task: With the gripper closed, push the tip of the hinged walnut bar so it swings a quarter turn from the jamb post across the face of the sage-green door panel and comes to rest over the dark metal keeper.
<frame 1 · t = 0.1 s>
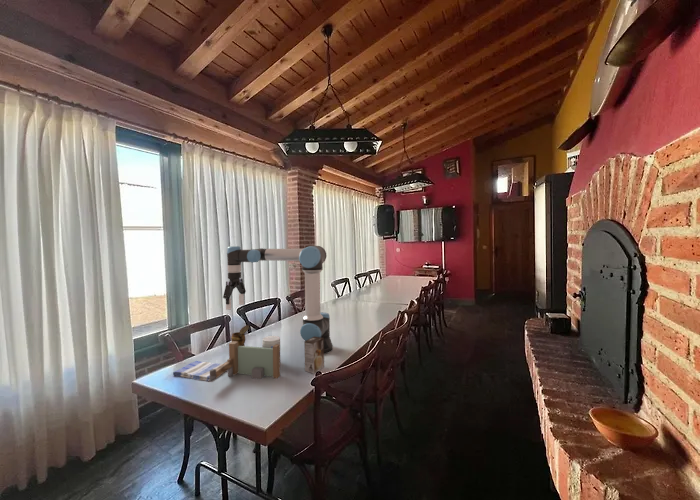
hand: (235, 306, 183), 28 cm above the table, fingers open, 13 cm apart
dish towel: (203, 372, 159), on the table
walnut bar: (221, 368, 146), point 7 cm above the table, hinge at 0.0°
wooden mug: (240, 352, 185), on the table
door set: (251, 375, 154), on the table
coffee box: (314, 369, 161), on the table
supplement tub: (271, 365, 167), on the table
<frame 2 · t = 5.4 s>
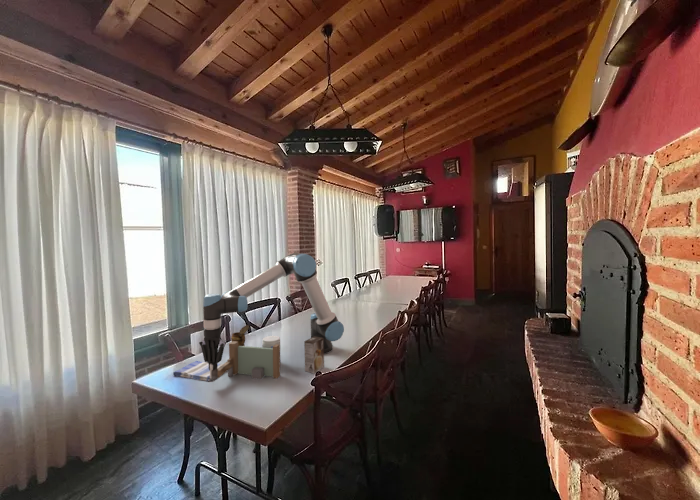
hand: (213, 376, 143), 4 cm above the table, fingers closed
walnut bar: (222, 368, 146), point 7 cm above the table, hinge at 3.5°, touching gripper
everything else where it was.
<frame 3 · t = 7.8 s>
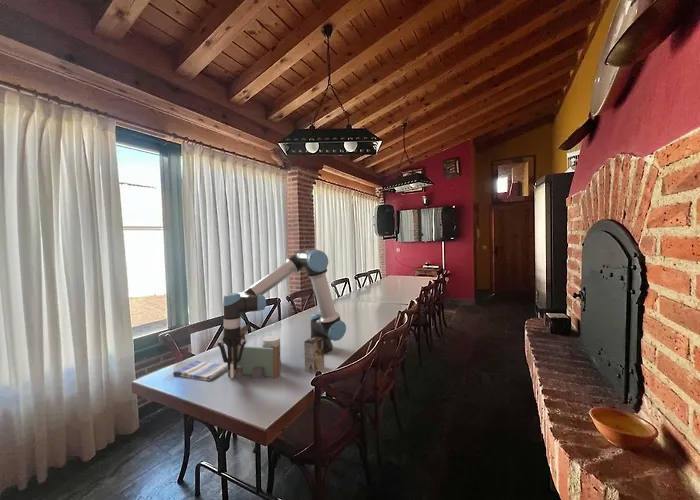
hand: (232, 376, 143), 5 cm above the table, fingers closed
walnut bar: (234, 366, 148), point 7 cm above the table, hinge at 51.2°, touching gripper
everything else where it was.
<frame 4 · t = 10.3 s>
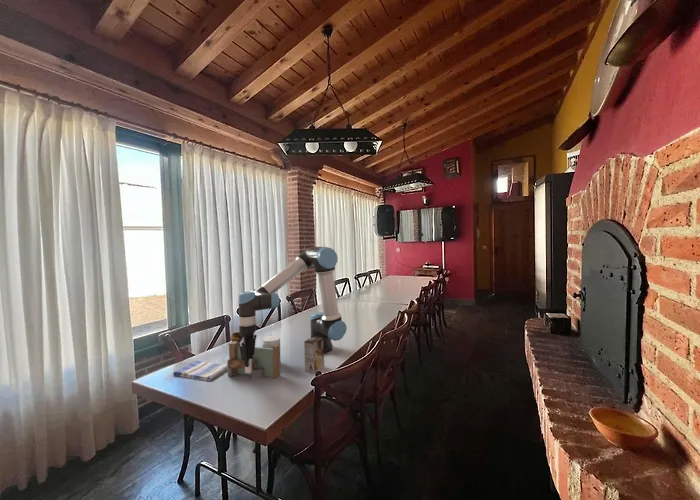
hand: (248, 372, 147), 5 cm above the table, fingers closed
walnut bar: (242, 363, 152), point 7 cm above the table, hinge at 92.2°
everything else where it was.
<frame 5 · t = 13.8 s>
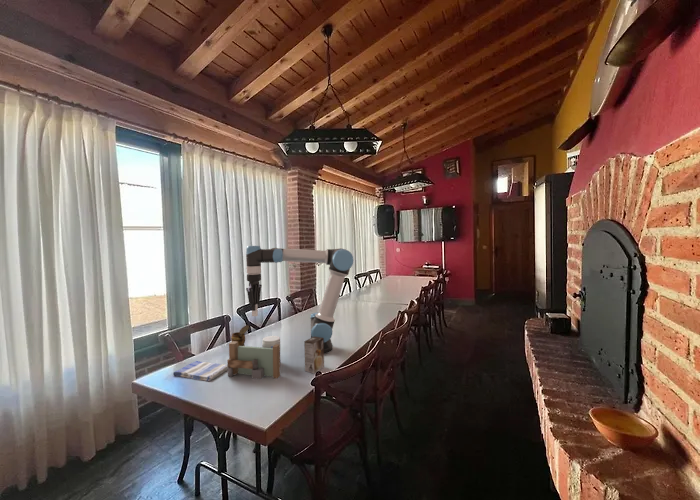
hand: (254, 315, 168), 26 cm above the table, fingers closed
nothing on the table moved.
at the end: walnut bar at +92° (first picture: +0°); the gripper is holding nothing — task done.
